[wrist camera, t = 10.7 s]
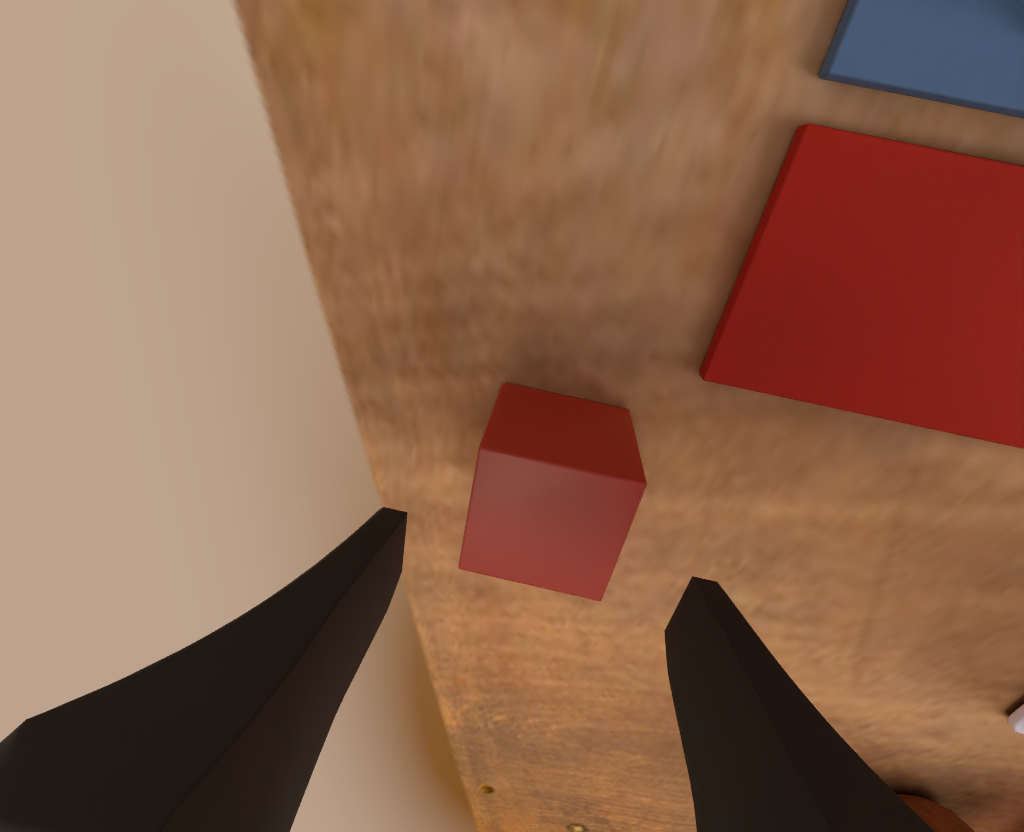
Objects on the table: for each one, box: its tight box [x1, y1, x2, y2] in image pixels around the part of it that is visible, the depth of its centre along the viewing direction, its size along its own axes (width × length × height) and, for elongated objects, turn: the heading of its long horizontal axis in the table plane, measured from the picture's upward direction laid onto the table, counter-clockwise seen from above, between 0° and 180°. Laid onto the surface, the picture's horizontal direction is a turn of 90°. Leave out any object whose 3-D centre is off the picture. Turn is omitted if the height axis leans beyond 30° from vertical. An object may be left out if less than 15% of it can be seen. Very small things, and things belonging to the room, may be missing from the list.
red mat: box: [699, 124, 1024, 449], centre depth 13 cm, size 7×12×1 cm, turn 80°
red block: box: [458, 383, 647, 601], centre depth 15 cm, size 4×4×4 cm
